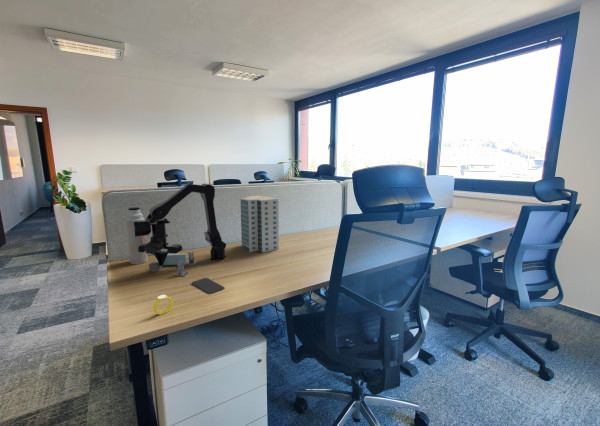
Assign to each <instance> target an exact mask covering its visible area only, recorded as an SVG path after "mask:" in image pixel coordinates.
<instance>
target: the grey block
mask: <svg viewBox="0 0 600 426" xmlns="http://www.w3.org/2000/svg"><path fill="white" fill-rule="evenodd" d="M176 267H177V275H176V276H177V277H185V276H187V275H188V274H189V271H186V270H185V264H184V261H179V262H178V263H177V266H176Z"/></svg>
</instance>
